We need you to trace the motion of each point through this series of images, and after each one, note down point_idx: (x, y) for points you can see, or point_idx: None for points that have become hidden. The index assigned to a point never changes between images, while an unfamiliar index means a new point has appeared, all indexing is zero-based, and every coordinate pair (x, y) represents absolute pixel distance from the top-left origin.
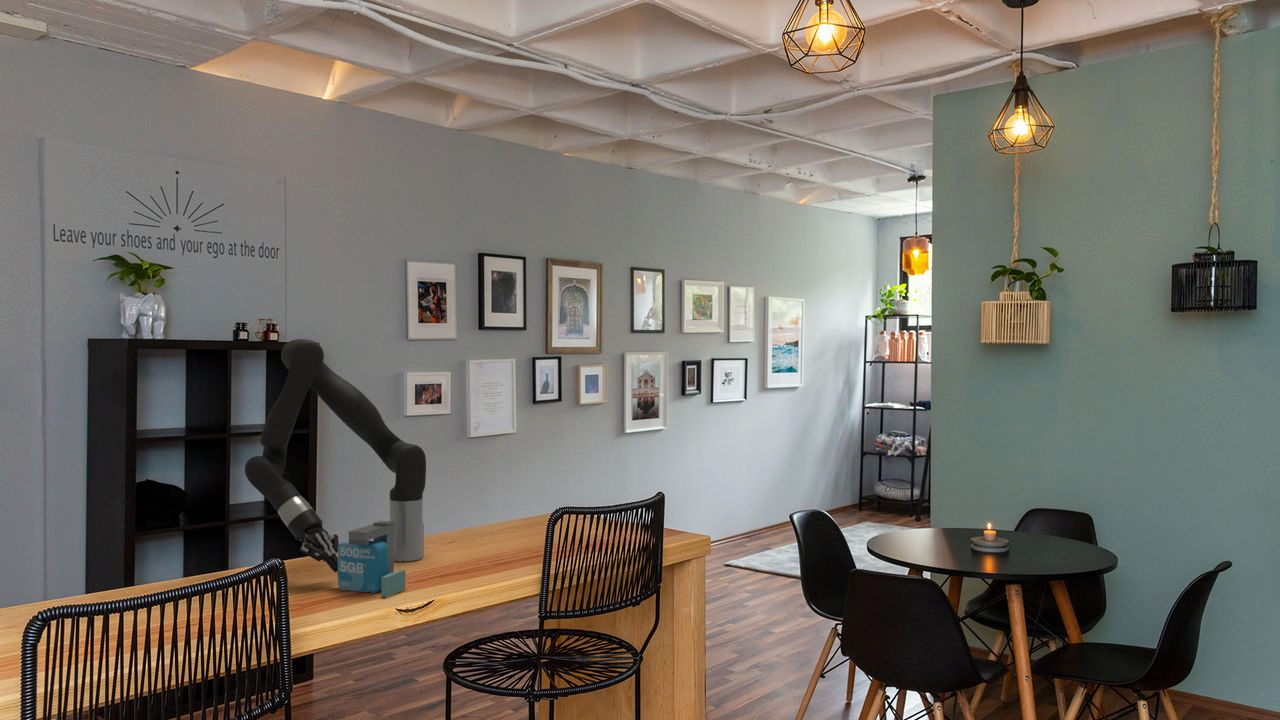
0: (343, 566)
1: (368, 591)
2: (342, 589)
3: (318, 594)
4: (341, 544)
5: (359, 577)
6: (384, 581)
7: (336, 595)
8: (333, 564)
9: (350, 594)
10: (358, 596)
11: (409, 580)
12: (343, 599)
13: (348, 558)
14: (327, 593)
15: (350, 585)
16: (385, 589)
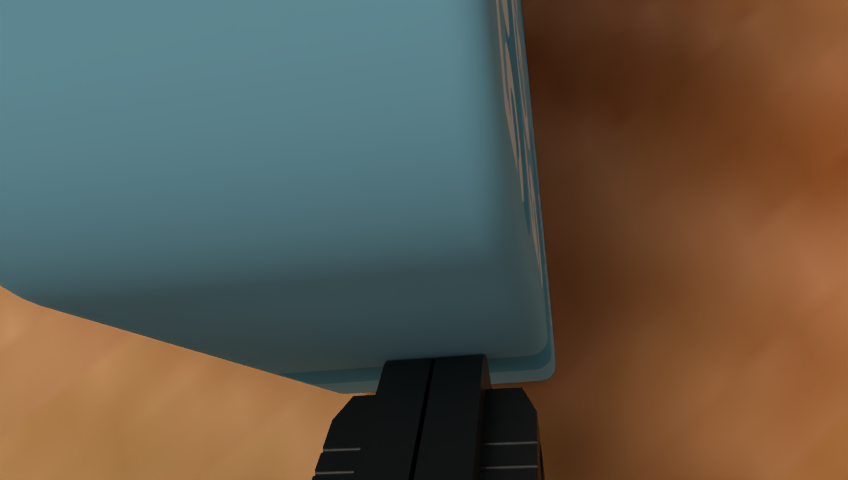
0: (534, 213)
1: (521, 5)
2: (551, 314)
3: (835, 459)
4: (495, 35)
5: (519, 21)
6: None
7: (753, 229)
8: (539, 442)
9: (643, 128)
10: (666, 10)
11: None
12: (840, 53)
13: (511, 41)
14: (738, 386)
15: (538, 191)
16: None
